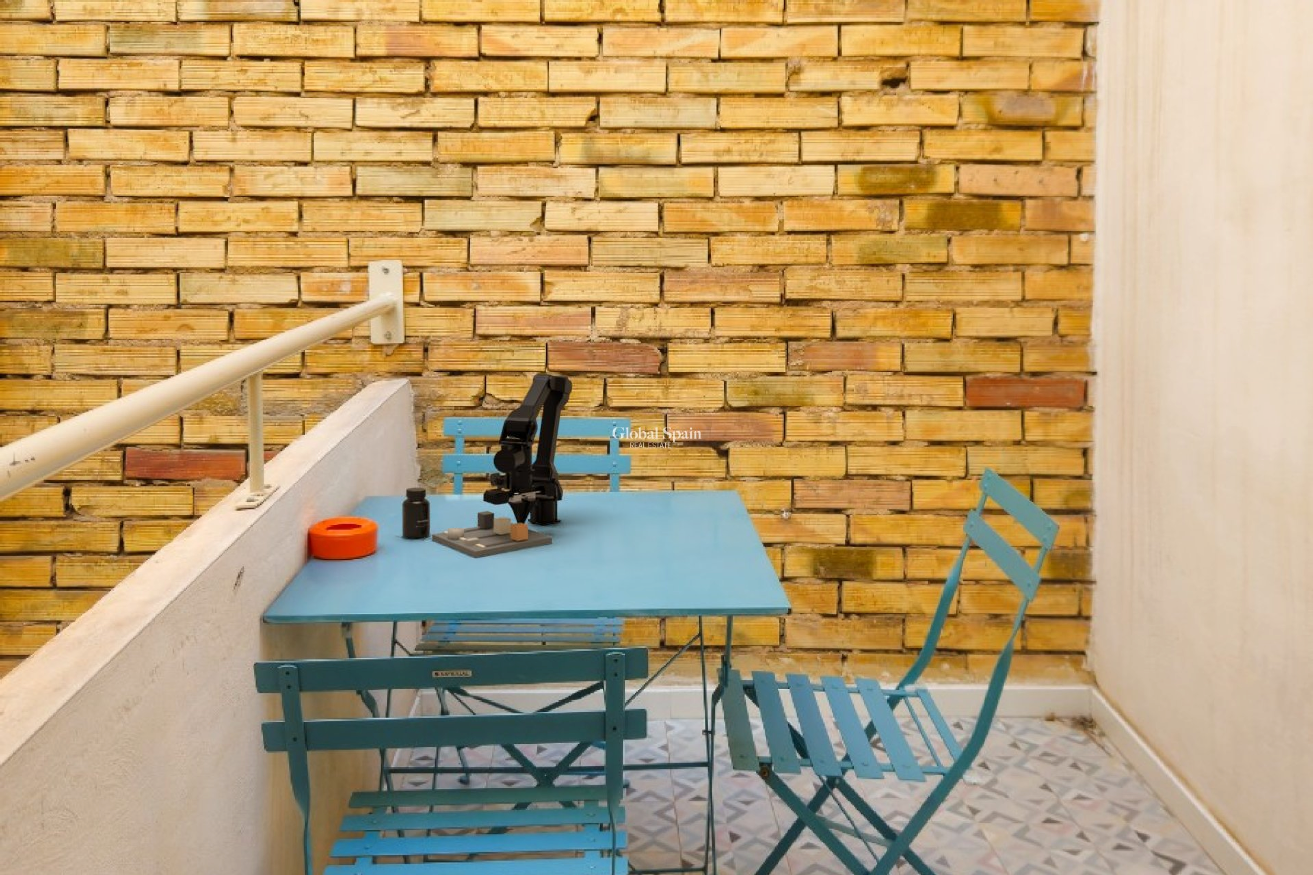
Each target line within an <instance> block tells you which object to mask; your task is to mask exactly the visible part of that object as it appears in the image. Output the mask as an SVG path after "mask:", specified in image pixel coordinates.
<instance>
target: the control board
mask: <svg viewBox="0 0 1313 875" xmlns="http://www.w3.org/2000/svg"><path fill="white" fill-rule="evenodd" d="M511 524H514V523H512V522H511ZM431 541H433V542H435V543H438V544H441V545H443V546H445V547H448V548H451V549H453V550H454V551H457V552H460V553H463V554H465V555H468V556H471V558H472V557H473V558H475V559H476V558H481V557H488V556H492V555H493V556H494V555H497V554H503V553H507V552H513V551H518V550H524V549H530V548H534V547H538V546H544V545H550V543H551V544H553V537H552V536H550V535H547V534H544V533H541V532H539V531H538V532H537V531H536V530H532V529H530V528H528V539H525V540H520V541H517V540H514V539H511V533H507V534H501V535H500V534H497V533H495V532H494V527H490V528H485V529H484V528H481V527H478V526H474V527H468V528H462V527H451V528H448V529H447V530H446V531H443V532H438V533H433V534H432V535H431Z"/></svg>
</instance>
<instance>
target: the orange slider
mask: <svg viewBox="0 0 1313 875" xmlns="http://www.w3.org/2000/svg"><path fill="white" fill-rule="evenodd" d="M528 529H529V524H526V523H525V524H524V523H517V522H516V523H513V524H511V539H514V540H517V541H520V540H525V539H528Z"/></svg>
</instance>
